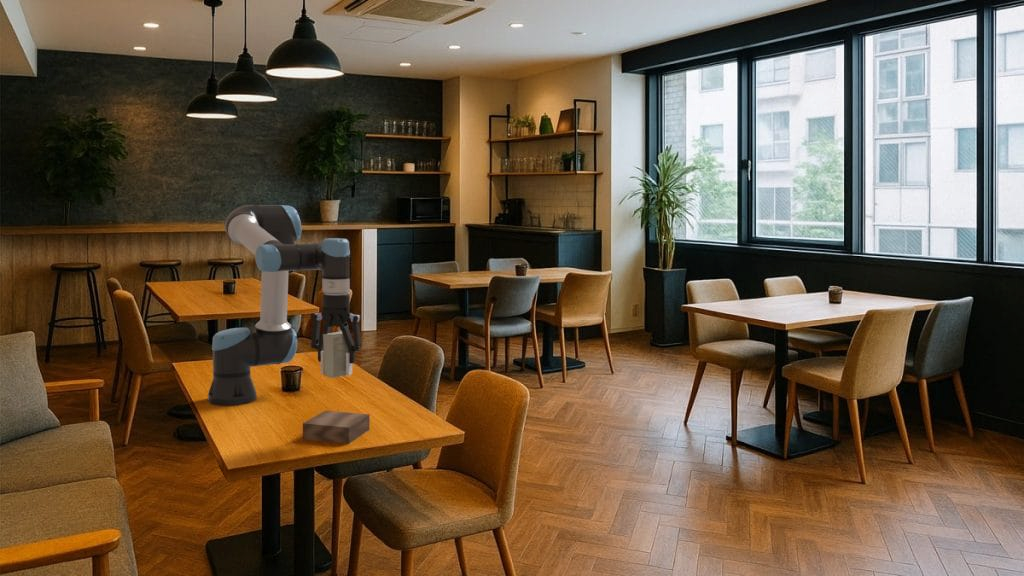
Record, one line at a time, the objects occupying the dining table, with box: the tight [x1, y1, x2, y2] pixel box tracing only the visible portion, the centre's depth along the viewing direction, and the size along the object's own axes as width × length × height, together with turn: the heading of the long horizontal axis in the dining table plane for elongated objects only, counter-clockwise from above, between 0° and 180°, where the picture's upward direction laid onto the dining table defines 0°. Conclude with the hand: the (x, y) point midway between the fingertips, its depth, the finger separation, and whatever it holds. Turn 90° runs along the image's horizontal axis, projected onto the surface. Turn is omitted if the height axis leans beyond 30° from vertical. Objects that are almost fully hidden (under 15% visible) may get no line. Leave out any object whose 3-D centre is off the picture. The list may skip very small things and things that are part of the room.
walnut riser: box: [302, 410, 370, 445], centre depth 230 cm, size 14×14×5 cm
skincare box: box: [323, 330, 348, 379], centre depth 228 cm, size 6×4×12 cm
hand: (336, 373), depth 228 cm, fingers closed on skincare box, 7 cm apart
